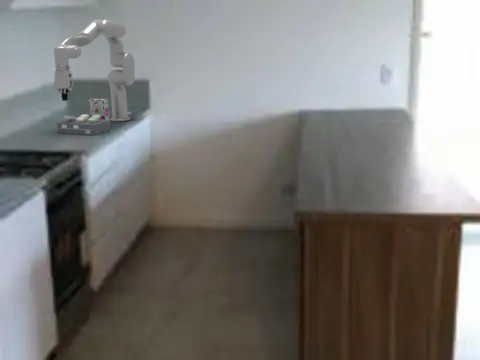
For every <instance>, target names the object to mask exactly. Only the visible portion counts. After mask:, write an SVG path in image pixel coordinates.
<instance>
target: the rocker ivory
mask: <svg viewBox="0 0 480 360" xmlns="http://www.w3.org/2000/svg"><path fill="white" fill-rule="evenodd" d="M77 117H78V118H77V119H76V122H84V121H85V120H86V119H87V120H88V119H89V118H90V114H86V113H85V114H81V115H79V116H77Z"/></svg>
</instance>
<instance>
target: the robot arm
mask: <svg viewBox="0 0 480 360" xmlns="http://www.w3.org/2000/svg"><path fill="white" fill-rule="evenodd" d="M126 33H127V28H126V26H125V25H124V24H123V23H121V22H117V21H114V20H109V19H94V20H92V21H90V23H88V25H86V27H84V29H82V30H81V31H80V32H78V33H76V34H73V35H72V36H70V37H68V38H67V39H65V40H64V41H63V42H62V43H61V44H60V45H58V46H55V47H54V48H53V55H54V65H55V68H54V69H55V70H54V88H55V90H56V91H58V92H60V94H61V100H62V101H65V102H66V101H68V99H69V98H68V97H69V96H68V95H69V92H70V91H73V88H74V79H73V75H72V70H70V69H71V66H70V64H69V63H70V62H69V59H78V58H79V57H81V55H82V49H81V47H84V46H88V45H90V44H91V43H93V42H94V41H95V40H96V39H97V38H98V37H99V36H101V35H102V36H103V37H104V38H105V39H106V40H107V41H108V45H109V63H110V65H111V67H113V68H117V69H112V70H110V71H109V72H108V74H107V81H108V85H109V89H110V100H111V112H112V117H109V120H110V122H125V121H130V120H131V117H130V116H129V115H131V111H128V101H127V100H128V99H127V90H126V88H125V86H128V87H129V86H131V85H133V84H134V81H135V77H136V74H135V68H136V67H135V65H136V64H135V62H136V61H135V58H134V55H133V54H132V53H131V52H129V51H125V50H124V41H123V39H122V38H123V37H125V35H126ZM118 68H122V69H118Z"/></svg>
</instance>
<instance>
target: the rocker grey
mask: <svg viewBox="0 0 480 360" xmlns="http://www.w3.org/2000/svg"><path fill="white" fill-rule="evenodd" d="M63 117H64V119H65V120H69V119H71V120H76V119H77V118H78V117H79V116H73V115H64V116H63Z"/></svg>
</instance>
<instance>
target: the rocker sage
mask: <svg viewBox="0 0 480 360" xmlns="http://www.w3.org/2000/svg"><path fill="white" fill-rule="evenodd" d="M100 118H101V116H100V115H93V116H92V117H91V118H90V117H89V118H88V119H87V120H88V123H95V122H96V121H97V120H99V119H100Z"/></svg>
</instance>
